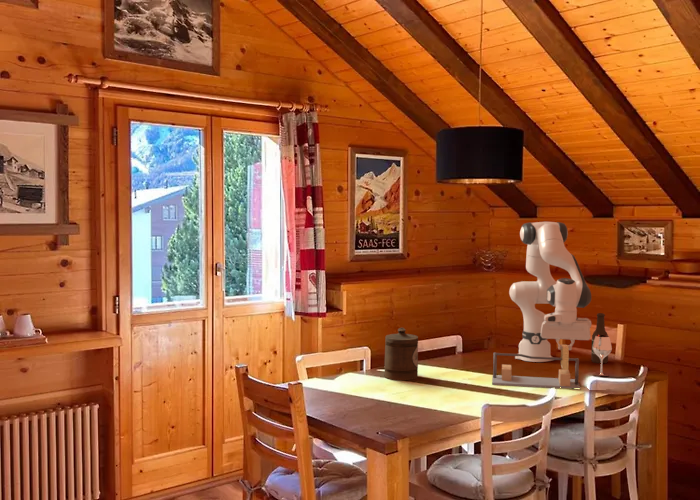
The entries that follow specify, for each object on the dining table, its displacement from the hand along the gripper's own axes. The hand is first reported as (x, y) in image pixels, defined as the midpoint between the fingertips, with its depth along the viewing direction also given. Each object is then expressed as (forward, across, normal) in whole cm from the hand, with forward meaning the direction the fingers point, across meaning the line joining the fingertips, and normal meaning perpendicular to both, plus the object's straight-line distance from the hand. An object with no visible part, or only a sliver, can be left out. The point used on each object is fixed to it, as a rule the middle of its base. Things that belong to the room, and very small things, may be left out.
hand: (564, 349), depth 301 cm
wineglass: (+16, -18, -23) cm, 33 cm away
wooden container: (+16, +70, -1) cm, 72 cm away
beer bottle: (+16, -21, -52) cm, 58 cm away
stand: (+16, +12, -2) cm, 20 cm away
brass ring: (+8, 0, 0) cm, 8 cm away
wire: (+4, +12, -2) cm, 13 cm away
